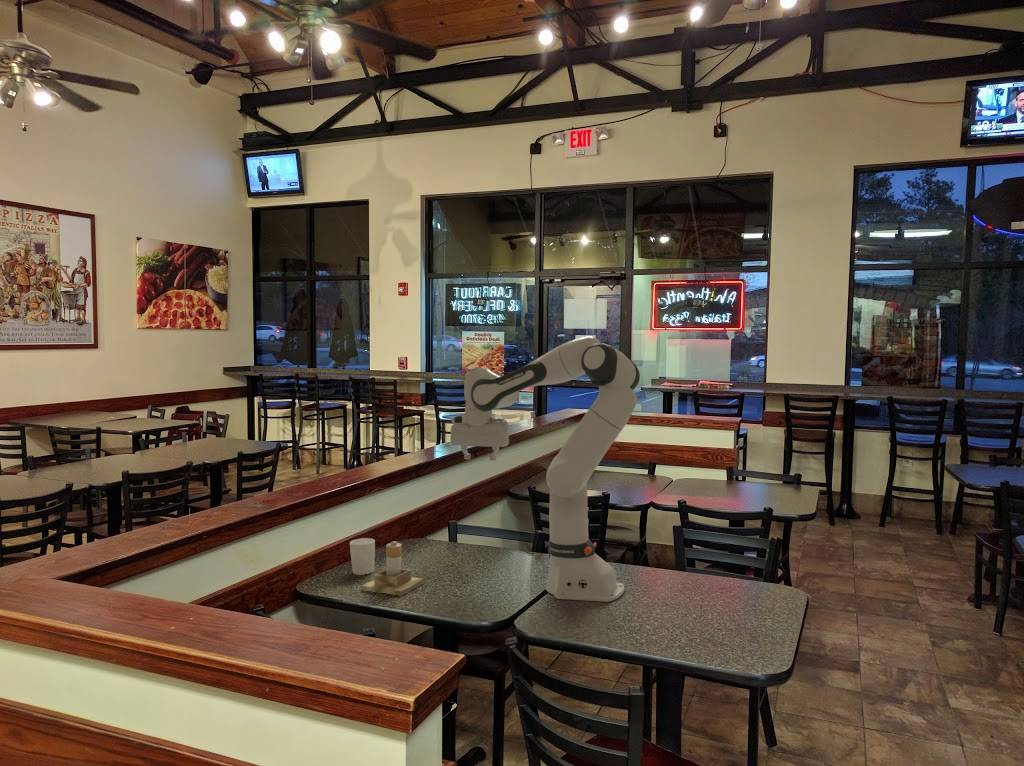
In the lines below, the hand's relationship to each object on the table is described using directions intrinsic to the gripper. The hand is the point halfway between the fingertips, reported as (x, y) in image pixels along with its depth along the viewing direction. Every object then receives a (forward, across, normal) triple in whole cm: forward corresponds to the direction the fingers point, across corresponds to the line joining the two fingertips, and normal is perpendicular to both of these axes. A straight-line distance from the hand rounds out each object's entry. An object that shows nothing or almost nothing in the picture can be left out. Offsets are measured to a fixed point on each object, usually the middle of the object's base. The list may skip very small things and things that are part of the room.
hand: (480, 459), depth 233 cm
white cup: (+34, +32, +22) cm, 52 cm away
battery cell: (+32, +14, +31) cm, 47 cm away
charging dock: (+34, +14, +31) cm, 48 cm away
